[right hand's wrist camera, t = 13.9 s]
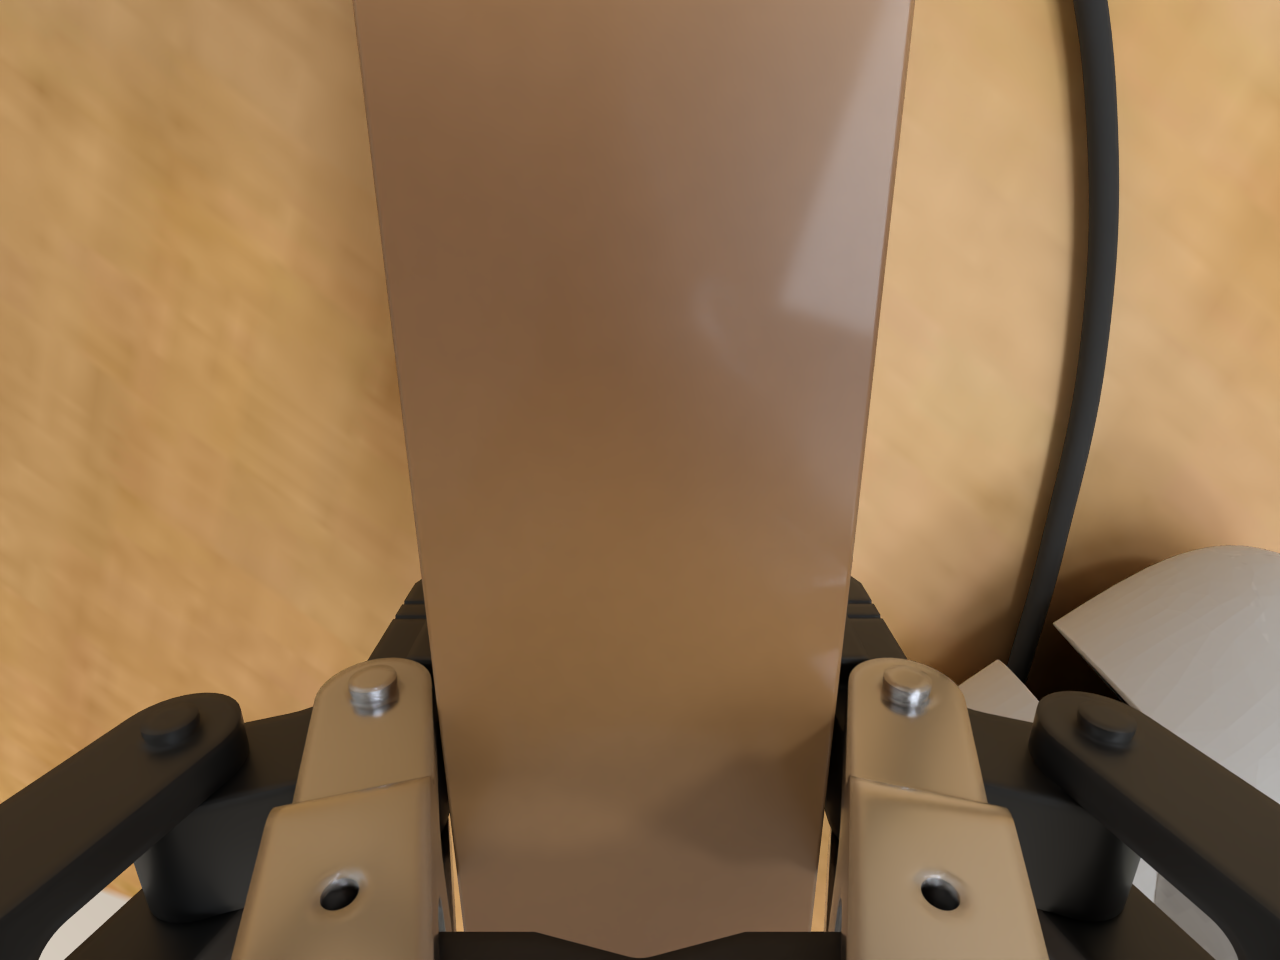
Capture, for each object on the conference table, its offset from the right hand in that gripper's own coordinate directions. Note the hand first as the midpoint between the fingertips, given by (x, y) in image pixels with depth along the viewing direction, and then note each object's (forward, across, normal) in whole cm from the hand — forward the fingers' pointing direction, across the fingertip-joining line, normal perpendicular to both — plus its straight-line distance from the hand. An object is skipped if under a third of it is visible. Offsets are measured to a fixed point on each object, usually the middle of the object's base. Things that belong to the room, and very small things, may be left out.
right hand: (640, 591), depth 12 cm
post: (+2, 0, +35) cm, 35 cm away
